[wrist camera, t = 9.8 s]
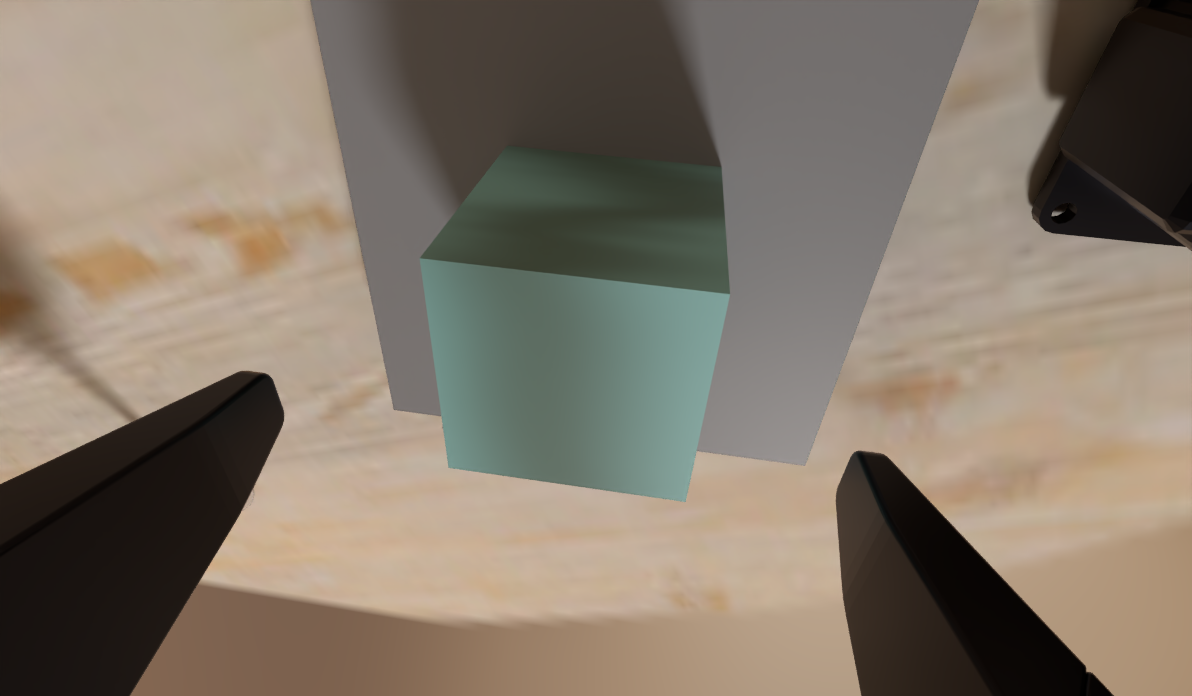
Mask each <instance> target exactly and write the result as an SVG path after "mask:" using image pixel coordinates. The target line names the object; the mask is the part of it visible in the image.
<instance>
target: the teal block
mask: <svg viewBox="0 0 1192 696" xmlns="http://www.w3.org/2000/svg"><path fill="white" fill-rule="evenodd" d="M420 265H421V272H422V279H423V287H424V294H425V301H426V308H427V315H428V322H429V330H430V337H431V344H432V351H433V358H434V366H435V373H436V380H437V387H438V394H439V401H440V409H441V416H442V423H443V430H444V437H445V445H446V452H447V459H448V466H449V468H454V469H461V470H468V471H475V472H482V473H489V474H496V475H502V476H509V477H516V478H523V479H530V480H537V481H544V482H551V483H558V484H565V485H572V486H579V487H586V488H593V489H600V490H606V491H613V492H620V493H627V494H634V495H641V496H648V497H655V498H662V499H669V500H676V501H683V502H686V498H687V493H688V488H689V484H690V479H691V474H692V470H693V465H694V460H695V456H696V451H697V446H698V442H699V437H700V432H701V428H702V423H703V418H704V414H705V409H706V404H707V400H708V395H709V391H710V386H711V381H712V377H713V372H714V367H715V363H716V358H717V353H718V349H719V344H720V339H721V335H722V330H723V325H724V321H725V316H726V311H727V307H728V302H729V297H730V284H729V270H728V255H727V240H726V225H725V210H724V195H723V180H722V167H717V166H707V165H697V164H686V163H676V162H666V161H656V160H646V159H636V158H626V157H616V156H606V155H596V154H586V153H576V152H566V151H556V150H546V149H535V148H525V147H515V146H506V148H505V149H504V150H503V151H502V153H501V154H500V155H499V157H498V158H497V159H496V160H495V162H494V163H493V164H492V166H491V167H490V168H489V169H488V171H487V172H486V173H485V175H484V176H483V177H482V178H481V180H480V181H479V182H478V184H477V185H476V186H475V187H474V189H473V190H472V191H471V193H470V194H469V195H468V196H467V198H466V199H465V200H464V202H463V203H462V204H461V206H460V207H459V208H458V209H457V211H456V212H455V213H454V215H453V216H452V217H451V218H450V220H449V221H448V222H447V224H446V225H445V226H444V227H443V229H442V230H441V231H440V233H439V234H438V235H437V236H436V238H435V239H434V240H433V242H432V243H431V244H430V245H429V247H428V248H427V249H426V251H425V252H424V253H423V254H422V256H421V257H420Z"/></svg>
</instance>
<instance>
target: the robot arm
mask: <svg viewBox="0 0 1192 696" xmlns="http://www.w3.org/2000/svg"><path fill="white" fill-rule="evenodd" d="M1059 146H1060V148H1061V152H1060V154H1059V156H1058V157H1057V159H1056V161H1055V163H1054V165H1053V167H1052V169H1051V171H1050V173H1049V175H1048V177H1047V179H1046V181H1045V183H1044V185H1043V187H1042V189H1041V191H1040V193H1039V195H1038V197H1037V199H1036V201H1035V202H1034V205H1033V208H1032V216H1033V219H1034V220H1035V221H1036V222H1037V223H1038V224H1039V225H1040V226H1041V227H1042V228H1043V229H1044V230H1045V231H1047V232H1051V233H1055V234H1065V235H1075V236H1085V237H1094V238H1104V239H1114V240H1124V241H1134V242H1143V243H1153V244H1163V245H1173V246H1183V247H1187V248H1188V249H1190V250H1191V251H1192V0H1138V1H1137V3H1136V5H1135V7H1134V9H1133V11H1132V12H1131V13H1129V14H1128V15H1127V16H1126V17H1124V18H1123V19H1122V20H1121V21H1120V22H1119V24H1118V26H1117V28H1116V30H1115V32H1114V34H1113V36H1112V38H1111V40H1110V42H1109V44H1108V46H1107V48H1106V50H1105V52H1104V54H1103V56H1102V58H1101V59H1100V61H1099V63H1098V65H1097V67H1096V69H1095V71H1094V73H1093V75H1092V77H1091V79H1090V81H1089V83H1088V85H1087V87H1086V89H1085V91H1084V93H1083V95H1082V97H1081V99H1080V101H1079V103H1078V105H1077V107H1076V109H1075V111H1074V113H1073V115H1072V117H1071V119H1070V121H1069V123H1068V125H1067V127H1066V129H1065V131H1064V133H1063V135H1062V137H1061V139H1060V141H1059ZM1063 203H1069V205H1068V208H1067V209H1066V210H1065V211H1064V212H1063V213H1061V214H1060V215H1058V216H1051V215H1052V212H1053V211H1054V210H1055V208H1056V207H1058V206H1060V205H1061V204H1063ZM283 422H284V410H283V407H282V404H281V401H280V399H279V396H278V393H277V390H276V387H275V384H274V382H273V379H272V378H271V377H270V376H269V375H268V374H266V373H260V372H252V371H240V372H237V373H235V374H233V375H231V376H229V377H227V378H224V379H222V380H220V381H218V382H216V383H214V384H212V385H210V386H207V387H205V388H203V389H201V390H199V391H197V392H195V393H193V394H191V395H188V396H186V397H184V398H182V399H180V400H178V401H176V402H174V403H171V404H169V405H167V406H165V407H163V408H161V409H159V410H157V411H154V412H152V413H150V414H148V415H146V416H144V417H142V418H140V419H138V420H135V421H133V422H131V423H129V424H127V425H125V426H123V427H121V428H118V429H116V430H114V431H112V432H110V433H108V434H106V435H104V436H102V437H99V438H97V439H95V440H93V441H91V442H89V443H87V444H85V445H82V446H80V447H78V448H76V449H74V450H72V451H70V452H68V453H65V454H63V455H61V456H59V457H57V458H55V459H53V460H51V461H49V462H46V463H44V464H42V465H40V466H38V467H36V468H34V469H32V470H29V471H27V472H25V473H23V474H21V475H19V476H17V477H15V478H12V479H10V480H8V481H6V482H4V483H2V484H0V696H130V695H131V693H132V692H133V690H134V688H135V687H136V685H137V683H138V682H139V680H140V678H141V677H142V675H143V674H144V672H145V670H146V669H147V667H148V665H149V664H150V662H151V660H152V659H153V657H154V655H155V654H156V652H157V650H158V649H159V647H160V646H161V644H162V642H163V641H164V639H165V637H166V636H167V634H168V632H169V631H170V629H171V627H172V626H173V624H174V622H175V621H176V619H177V617H178V616H179V614H180V613H181V611H182V609H183V607H184V606H185V604H186V603H187V601H188V599H189V598H190V596H191V594H192V593H193V591H194V589H195V588H196V586H197V585H198V583H199V581H200V580H201V578H202V576H203V575H204V573H205V571H206V570H207V568H208V566H209V565H210V563H211V561H212V560H213V558H214V557H215V555H216V553H217V552H218V550H219V548H220V547H221V545H222V543H223V542H224V540H225V538H226V537H227V535H228V533H229V532H230V530H231V529H232V527H233V525H234V524H235V522H236V520H237V518H238V517H239V515H240V513H241V511H242V510H243V508H244V506H245V504H246V502H247V500H248V498H249V496H250V494H251V492H252V490H253V488H254V485H255V483H256V481H257V479H258V477H259V475H260V473H261V471H262V469H263V466H264V464H265V462H266V460H267V458H268V456H269V454H270V452H271V449H272V447H273V445H274V443H275V441H276V439H277V437H278V435H279V432H280V430H281V428H282V425H283ZM836 511H837V524H838V538H839V552H840V566H841V580H842V591H843V600H844V606H845V612H846V618H847V623H848V628H849V634H850V639H851V644H852V649H853V654H854V659H855V664H856V670H857V675H858V680H859V685H860V691H861V696H1114V695H1113V694H1112V693H1111V692H1110V691H1109V690H1108V689H1107V688H1106V687H1105V686H1104V685H1103V684H1102V683H1101V682H1100V681H1099V679H1098V678H1097V677H1096V676H1095V675H1094V674H1093V673H1091V672H1086V666H1085V665H1084V664H1083V663H1082V662H1081V661H1080V660H1079V659H1078V657H1077V656H1076V655H1075V654H1074V653H1073V652H1072V651H1071V650H1070V649H1069V648H1068V647H1067V646H1066V645H1065V644H1064V643H1063V642H1062V641H1061V639H1060V638H1059V637H1058V636H1057V635H1056V634H1055V633H1054V632H1053V631H1052V630H1051V629H1050V628H1049V627H1048V626H1047V625H1046V624H1045V623H1044V622H1043V620H1042V619H1041V618H1040V617H1039V616H1038V615H1037V614H1036V613H1035V612H1034V611H1033V610H1032V609H1031V608H1030V607H1029V606H1028V605H1027V604H1026V603H1025V602H1024V600H1022V598H1021V597H1020V596H1019V595H1018V594H1017V593H1016V592H1015V591H1014V590H1013V589H1012V588H1011V587H1010V586H1009V585H1008V583H1007V582H1006V581H1005V580H1004V579H1003V578H1002V577H1001V576H1000V575H999V574H998V573H997V572H996V571H995V570H994V569H993V568H992V567H991V566H990V564H989V563H988V562H987V561H986V560H985V559H984V558H983V557H982V556H981V555H980V554H979V553H978V552H977V551H976V550H975V549H974V548H973V546H972V545H971V544H970V543H969V542H968V541H967V540H966V539H965V538H964V537H963V536H962V535H961V534H960V533H959V532H958V531H957V530H956V529H955V527H954V526H953V525H952V524H951V523H950V522H949V521H948V520H947V519H946V518H945V517H944V516H943V515H942V514H941V513H940V512H939V511H938V510H937V508H936V507H935V506H934V505H933V504H932V503H931V502H930V501H929V500H928V499H927V498H926V497H925V496H924V495H923V494H922V493H921V492H920V490H919V489H918V488H917V487H916V486H915V485H914V484H913V483H912V482H911V481H910V480H909V479H908V478H907V477H906V476H905V475H904V474H903V473H902V471H901V470H900V469H899V468H898V467H897V466H896V465H895V464H894V463H893V462H892V461H891V460H890V459H889V458H888V457H887V456H885V455H884V454H881V453H874V452H866V451H856V452H854V453H853V454H852V456H851V458H850V460H849V462H848V465H847V467H846V469H845V472H844V474H843V476H842V478H841V481H840V483H839V485H838V488H837V493H836Z"/></svg>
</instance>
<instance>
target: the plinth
mask: <svg viewBox="0 0 1192 696" xmlns="http://www.w3.org/2000/svg"><path fill="white" fill-rule="evenodd" d="M978 2H979V0H311V5H312V10H313V15H314V20H315V25H316V30H317V35H318V40H319V45H320V50H321V54H322V59H323V64H324V69H325V74H326V79H327V84H328V89H329V94H330V99H331V104H332V108H333V113H334V118H335V123H336V128H337V133H338V138H339V143H340V148H341V153H342V158H343V162H344V167H345V172H346V177H347V182H348V187H349V192H350V197H351V202H352V207H353V211H354V216H355V221H356V226H357V231H358V236H359V241H360V246H361V251H362V256H363V261H364V265H365V270H366V275H367V280H368V285H369V290H370V295H371V300H372V305H373V310H374V315H375V319H376V324H377V329H378V334H379V339H380V344H381V349H382V354H383V359H384V364H385V369H386V373H387V378H388V383H389V388H390V393H391V398H392V403H393V408H394V410H399V411H406V412H413V413H421V414H428V415H436V416H441V409H440V401H439V394H438V387H437V380H436V373H435V366H434V358H433V351H432V344H431V337H430V330H429V322H428V315H427V308H426V301H425V294H424V287H423V279H422V272H421V265H420V257H421V256H422V254H423V253H424V252H425V251H426V249H427V248H428V247H429V245H430V244H431V243H432V242H433V240H434V239H435V238H436V236H437V235H438V234H439V233H440V231H441V230H442V229H443V227H444V226H445V225H446V224H447V222H448V221H449V220H450V218H451V217H452V216H453V215H454V213H455V212H456V211H457V209H458V208H459V207H460V206H461V204H462V203H463V202H464V200H465V199H466V198H467V196H468V195H469V194H470V193H471V191H472V190H473V189H474V187H475V186H476V185H477V184H478V182H479V181H480V180H481V178H482V177H483V176H484V175H485V173H486V172H487V171H488V169H489V168H490V167H491V166H492V164H493V163H494V162H495V160H496V159H497V158H498V157H499V155H500V154H501V153H502V151H503V150H504V149H505V148H506V146H515V147H525V148H535V149H546V150H556V151H566V152H576V153H586V154H596V155H606V156H616V157H626V158H636V159H646V160H656V161H666V162H676V163H686V164H697V165H707V166H717V167H722V180H723V195H724V210H725V225H726V240H727V255H728V270H729V284H730V297H729V302H728V307H727V311H726V316H725V321H724V325H723V330H722V335H721V339H720V344H719V349H718V353H717V358H716V363H715V367H714V372H713V377H712V381H711V386H710V391H709V395H708V400H707V404H706V409H705V414H704V418H703V423H702V428H701V432H700V437H699V442H698V446H697V451H700V452H707V453H715V454H722V455H729V456H737V457H744V458H752V459H759V460H766V461H774V462H781V463H788V464H796V465H803V466H805V465H806V462H807V459H808V457H809V454H810V451H811V449H812V446H813V443H814V441H815V438H816V435H817V433H818V430H819V427H820V424H821V422H822V419H823V416H824V414H825V411H826V408H827V406H828V403H829V400H830V398H831V395H832V392H833V390H834V387H835V384H836V382H837V379H838V376H839V374H840V371H841V368H842V366H843V363H844V360H845V358H846V355H847V352H848V350H849V347H850V344H851V342H852V339H853V336H854V334H855V331H856V328H857V325H858V323H859V320H860V317H861V315H862V312H863V309H864V307H865V304H866V301H867V299H868V296H869V293H870V291H871V288H872V285H873V283H874V280H875V277H876V275H877V272H878V269H879V267H880V264H881V261H882V259H883V256H884V253H885V251H886V248H887V245H888V243H889V240H890V237H891V235H892V232H893V229H894V226H895V224H896V221H897V218H898V216H899V213H900V210H901V208H902V205H903V202H904V200H905V197H906V194H907V192H908V189H909V186H910V184H911V181H912V178H913V176H914V173H915V170H916V168H917V165H918V162H919V160H920V157H921V154H922V152H923V149H924V146H925V144H926V141H927V138H928V136H929V133H930V130H931V127H932V125H933V122H934V119H935V117H936V114H937V111H938V109H939V106H940V103H941V101H942V98H943V95H944V93H945V90H946V87H947V85H948V82H949V79H950V77H951V74H952V71H953V69H954V66H955V63H956V61H957V58H958V55H959V53H960V50H961V47H962V45H963V42H964V39H965V37H966V34H967V31H968V28H969V26H970V23H971V20H972V18H973V15H974V12H975V10H976V7H977V4H978Z"/></svg>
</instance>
